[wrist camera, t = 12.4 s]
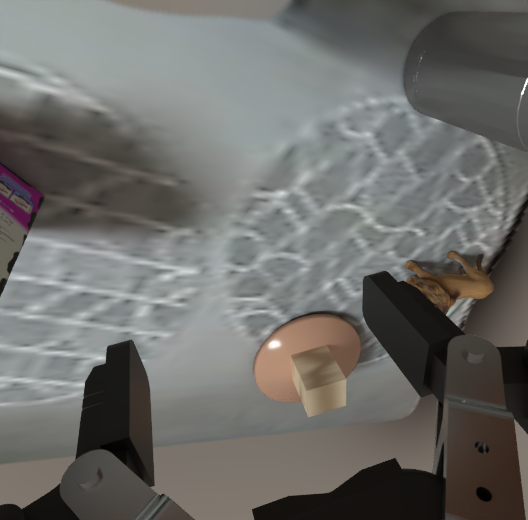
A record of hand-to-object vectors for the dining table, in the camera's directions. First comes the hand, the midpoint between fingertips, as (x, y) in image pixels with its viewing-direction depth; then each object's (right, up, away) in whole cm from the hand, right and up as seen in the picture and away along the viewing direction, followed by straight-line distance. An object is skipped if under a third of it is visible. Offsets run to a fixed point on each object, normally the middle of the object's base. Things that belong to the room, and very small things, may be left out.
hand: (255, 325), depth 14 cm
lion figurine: (+22, +1, +40) cm, 46 cm away
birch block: (+6, -12, +40) cm, 42 cm away
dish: (+6, -11, +42) cm, 44 cm away
